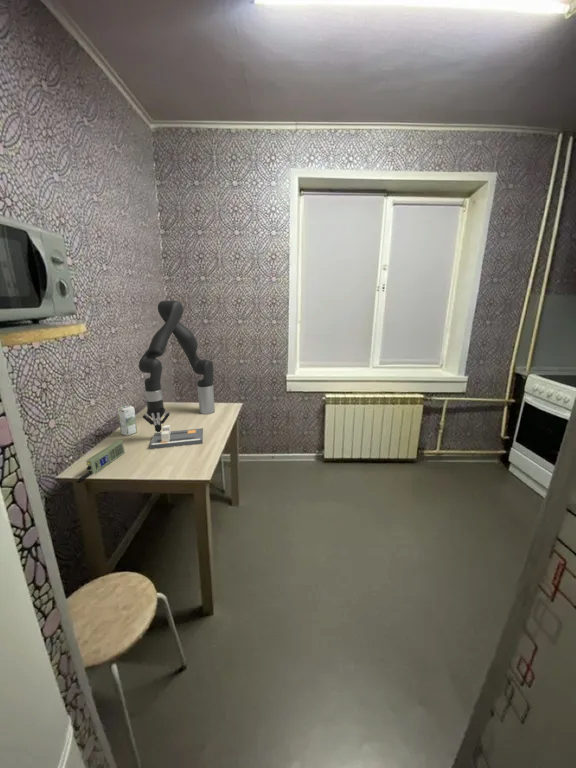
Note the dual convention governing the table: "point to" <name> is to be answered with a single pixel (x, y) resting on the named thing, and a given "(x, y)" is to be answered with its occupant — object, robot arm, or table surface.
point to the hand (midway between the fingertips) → (158, 431)
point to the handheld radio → (104, 458)
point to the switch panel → (178, 438)
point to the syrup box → (127, 420)
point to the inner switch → (167, 428)
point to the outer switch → (165, 436)
